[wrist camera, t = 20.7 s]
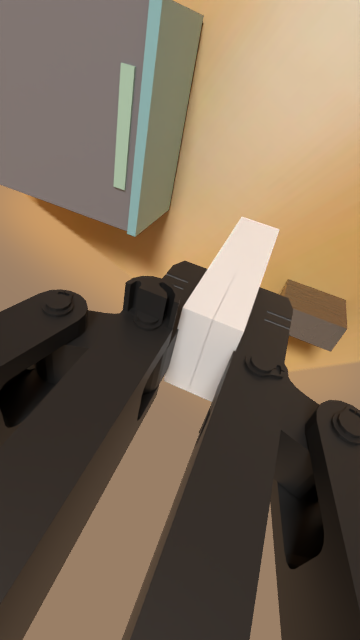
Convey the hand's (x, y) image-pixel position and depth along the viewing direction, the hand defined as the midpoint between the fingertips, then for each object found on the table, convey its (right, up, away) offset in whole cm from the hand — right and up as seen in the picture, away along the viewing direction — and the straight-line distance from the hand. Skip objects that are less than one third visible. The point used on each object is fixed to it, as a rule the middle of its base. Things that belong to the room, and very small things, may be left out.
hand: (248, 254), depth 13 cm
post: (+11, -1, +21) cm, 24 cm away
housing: (-11, +18, +18) cm, 28 cm away
